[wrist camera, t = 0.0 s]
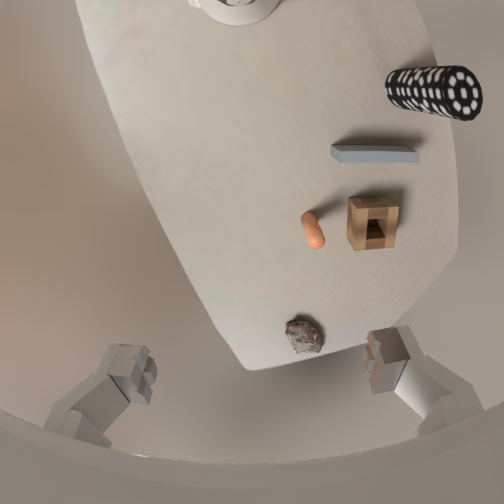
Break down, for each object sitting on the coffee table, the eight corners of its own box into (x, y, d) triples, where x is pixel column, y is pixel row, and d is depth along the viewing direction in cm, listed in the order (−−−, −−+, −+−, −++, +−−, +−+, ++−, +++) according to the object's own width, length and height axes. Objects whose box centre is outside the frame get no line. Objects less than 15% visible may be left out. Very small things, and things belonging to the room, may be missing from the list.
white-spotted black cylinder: (380, 71, 43) (436, 65, 26) (415, 68, 42) (477, 66, 24) (390, 111, 47) (447, 123, 30) (423, 106, 46) (485, 119, 28)
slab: (330, 145, 51) (339, 151, 46) (404, 145, 50) (419, 152, 45) (331, 155, 52) (340, 162, 47) (403, 155, 51) (418, 162, 46)
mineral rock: (324, 344, 78) (326, 356, 74) (297, 352, 80) (299, 364, 76) (311, 308, 71) (313, 320, 67) (281, 318, 73) (282, 330, 69)
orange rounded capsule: (300, 212, 58) (308, 234, 50) (315, 211, 58) (325, 232, 50) (301, 225, 60) (308, 249, 51) (315, 224, 60) (325, 248, 51)
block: (348, 198, 56) (357, 208, 51) (387, 196, 56) (399, 206, 51) (346, 237, 61) (354, 250, 56) (383, 234, 60) (394, 247, 55)
